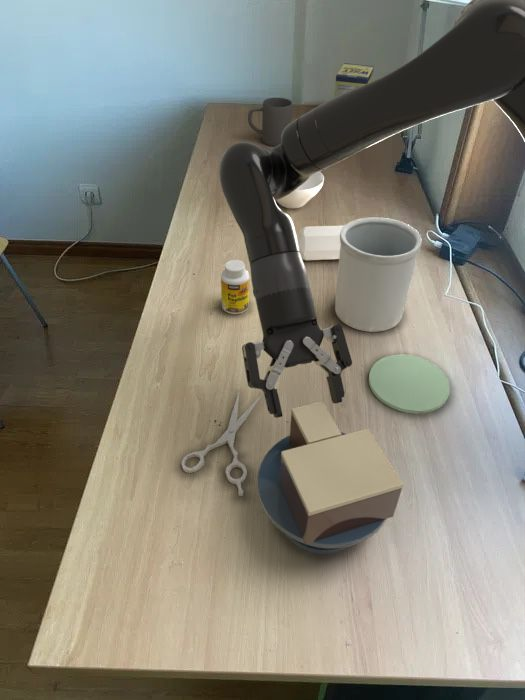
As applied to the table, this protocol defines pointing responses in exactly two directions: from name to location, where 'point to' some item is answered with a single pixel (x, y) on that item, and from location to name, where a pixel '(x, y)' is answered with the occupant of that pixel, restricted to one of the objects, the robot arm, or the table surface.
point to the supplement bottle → (235, 287)
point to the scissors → (225, 438)
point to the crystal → (319, 242)
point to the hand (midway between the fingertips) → (308, 409)
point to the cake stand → (329, 491)
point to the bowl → (303, 192)
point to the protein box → (352, 77)
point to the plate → (409, 383)
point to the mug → (273, 119)
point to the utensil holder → (375, 272)
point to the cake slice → (311, 425)
